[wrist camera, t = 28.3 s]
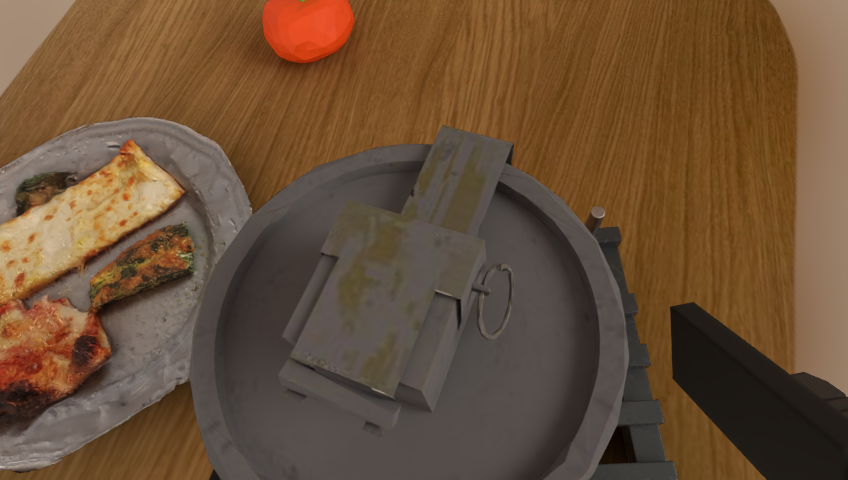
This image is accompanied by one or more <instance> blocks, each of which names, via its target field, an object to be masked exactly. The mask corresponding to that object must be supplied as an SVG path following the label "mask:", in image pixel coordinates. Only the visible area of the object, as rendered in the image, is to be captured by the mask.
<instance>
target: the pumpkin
mask: <svg viewBox="0 0 848 480" xmlns="http://www.w3.org/2000/svg"><path fill="white" fill-rule="evenodd" d="M262 19H263V28H264V36H265V38H266V40H267V41H268V43H269V44H270V45H271V47H272V48H273V49H274V51H275V52H276V54H277V55H278V56H280V57H282V58H284V59H286V60H288V61H292V62H298V63H308V62H314V61H317V60H320V59H322V58H325V57H327V56H329V55H331V54H333V53H335V52H337V51H338V50H339V49H340V48H341V47H342V46H343V45H344V44H345V43H346V41H347V39H348V37H349V35H350V33H351V31H352V28H353V25H354V22H355V19H354V16H353V13H352V10H351V7H350V4H349V1H348V0H269V1H268V2H267V3H266V4H265V6H264V11H263V16H262Z"/></svg>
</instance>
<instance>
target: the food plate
mask: <svg viewBox="0 0 848 480" xmlns="http://www.w3.org/2000/svg"><path fill="white" fill-rule="evenodd" d="M90 124H91V123H90ZM86 125H88V124H86ZM86 125H83V126H80V127H77V128H76V129H73V130H70V131H68V132H66V133H64V134H62V135H60V136H58V137H56V138H53V139H52V140H50V141H48V142H46V143H44V144H42V145H41V146H38V147H36V148H34V149H33V150H32V151H31V152H27V153H26V154H24V155H23V156H21V157H19V158H18V159H16V160H14V161H12V162H11V163H9V164H7V165H6V166H4V167H2V168H3V169H2V168H1V170H0V171H1V172H0V471H1V470H13V472H19V473H22V472H23V473H24V472H29V471H33V470H36V469H41V468H43V467H45V466H50V465H52V464H55V463H57V462H59V461H60V460H64V459H60V458H61V457H63V456H65V455H69V454H70V453H72V452H74V451H76V450H78V449H79V448H81V447H83V446H84V444H86V443H89V442H91V441H93V440H94V439H95V438H97V437H99V436H101V435H103V434H105V433H107V432H108V431H110V430H112V429H113V428H115V427H116V426H118V425H120V424H123V423H124V422H125V421H127V420H129V419H130V418H131V416H133V415H134V414H136V413H138V412H139V411H141V410H143V409H144V408H146V407H148V406H151V405H152V404H153V403H155V402H158V401H160V400H161V398H163V397H164V396H165V395H166V394H168V393H170V392H171V391H173V390H174V388H175V387H176V385H180V384H184V383H186V380H187V379H189V378H190V377H189V368H190V357H191V347H192V337H193V329H194V325H195V322H196V319H197V315H198V312H199V308H200V305H201V302H202V298H203V295H204V292H205V289H206V286H207V284H208V281H209V279H210V277H211V274H212V272H213V270H214V268H215V265H216V264H217V262H218V261H219V259H220V258H221V257H222V255H223V254H224V252H225V251H226V250H227V248H228V247H229V245H230V244H231V243H232V241H233V240H234V238H235V237H236V236H237V234H238V233H239V231H240V230H241V229H242V227H243V226H244V224H245V223H246V222H247V220H248V219H249V217H250V216H252V211H253V210H252V209H251V208H252V206H251V205H250V204H251V203H250V201H249V199H248V194H246V191H245V188H244V186H243V184H242V182H241V180H240V179H239V177H238V176H237V173H236V171H235V170H234V168H233V166H232V164H231V163H230V161H229V159H228V157H227V156H226V155H225V152H223V150H222V147H220V145H219V144H218V143H217V142H215V141H213V140H212V139H209V138H208V137H205V136H204V135H202V134H197V133H196V131H195V130H193V129H190V128H189V127H186V125H180V124H177V123H175V122H174V121H173V122H171V121H168V120H163V119H157V118H154V117H153V118H152V117H149V118H148V117H135V118H131V117H128V118H124V119H121V120H116V121H109V122H100V123H96V124H93V125H92V124H91V125H90V126H88V127H86V128H84V129H82V131H81V130H78V129H80V128H83V127H84V126H86ZM76 130H77V131H76ZM74 131H76V132H74ZM71 132H74V133H71ZM69 133H71V134H69ZM66 134H69V135H66ZM65 135H66V136H65ZM62 136H65V137H63V138H61V137H62ZM58 138H61V139H59V140H57V139H58ZM55 140H57V141H55ZM53 141H55V142H53ZM13 163H17V164H14V165H12V164H13ZM9 165H11V166H10V167H7V166H9ZM188 381H190V380H188ZM188 381H187V382H188ZM57 460H59V461H57ZM54 461H57V462H54ZM52 462H54V463H52Z"/></svg>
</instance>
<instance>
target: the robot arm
mask: <svg viewBox="0 0 848 480" xmlns="http://www.w3.org/2000/svg"><path fill="white" fill-rule="evenodd" d="M670 312H671V339H672V367H673V379H674V380H675V382H676V383H677V384H678V385H679V386H680V387H681V388H682V389H683V390H684V391H685V392H686V393H687V394H688V396H689V397H690V398H691V399H692V400H693V401H694V402H695V403H696V404H697V405H698V406H699V407H700V408H701V410H702V411H703V412H704V413H705V414H706V415H707V416H708V417H709V418H710V419H711V420H712V421H713V422H714V424H715V425H716V426H717V427H718V428H719V429H720V430H721V431H722V432H723V433H724V434H725V435H726V436H727V438H728V439H729V440H730V441H731V442H732V443H733V444H734V445H735V446H736V447H737V448H738V449H739V450H740V452H741V453H742V454H743V455H744V456H745V457H746V458H747V459H748V460H749V461H750V462H751V463H752V464H753V466H754V467H755V468H756V469H757V470H758V471H759V472H760V473H761V474H762V475H763V476H764V477H765V478H766V479H767V480H848V397H846V395H845V394H844V393H843V392H841V391H840V390H839V389H837V388H836V387H834V386H833V385H831V384H830V383H829V382H827V381H825V380H822V379H820V378H817V377H815V376H812V375H810V374H808V373H805V372H802V373H796V374H791V375H790V374H789V373H787V372H786V371H785V370H783V369H782V368H781V367H779V366H778V365H777V364H775V363H774V362H773V361H771V360H770V359H769V358H767V357H766V356H765V355H763V354H762V353H761V352H759V351H758V350H757V349H755V348H754V347H753V346H751V345H750V344H749V343H747V342H746V341H745V340H743V339H742V338H741V337H739V336H738V335H737V334H735V333H734V332H733V331H731V330H730V329H729V328H727V327H726V326H725V325H723V324H722V323H721V322H719V321H718V320H717V319H715V318H714V317H713V316H711V315H710V314H709V313H707V312H706V311H705V310H703V309H702V308H701V307H699V306H698V305H697V304H695V303H694V302H692V303H687V304H682V305H677V306H672V307H670ZM209 480H221V479H220V477H219V476H218V474H217V473H216V471H215V470H213V472H212V474H211V477H210V479H209Z"/></svg>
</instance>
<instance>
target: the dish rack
mask: <svg viewBox="0 0 848 480" xmlns="http://www.w3.org/2000/svg"><path fill="white" fill-rule="evenodd" d="M604 216H605V210H604V209H603V208H602V207H599V206H596V207H593V208H592V209H591V212H590V214H589V216H588V219H587V221H586V224H585V227H586V228H587V229H588V230H589V231H590V233H591V234H592V235H593V236H594V237H595V239H596V240H597V242H598V244H599V246H600V248H601V250H602V252H603V255H604V257H605V259H606V261H607V263H608V265H609V268H610V270H611V272H612V274H613V276H614V278H615V281H616V283H617V285H618V287H619V289H620V295H621V300H622V305H623V311H624V316H625V324H626V333H627V341H628V350H629V362H628V368H627V373H626V379H625V385H624V391H623V397H622V403H621V409H620V415H619V420H618V424H617V426H616V427H621V430H622V435H623V440H624V445H625V450H626V455H627V460H628V463H610V464H598V466H597V468H596V470H595V472H594V474H593V475H592V476H591V478H590V479H589V480H678V477H677V472H676V468H675V464H674V461H667V459H666V455H665V450H664V446H663V442H662V437H661V433H660V429H659V425H660V424H662V423H664V417H663V413H662V409H661V405H660V401H659V400H658V399H656V400H653V398H652V394H651V390H650V385H649V381H648V376H647V372H646V368H647V367H649V366H650V365H651V362H650V358H649V353H648V349H647V345H646V344H640V342H639V337H638V333H637V329H636V324H635V320H634V317H635V315H636V314H637V313H638V307H637V303H636V299H635V295H634V294H633V293H631V294H628V290H627V285H626V281H625V277H624V272H623V268H622V264H621V259H620V255H619V251H618V246H619V244H620V243H621V241H622V239H621V235H620V230H619V227H607V228H599V227H600V224H601V222H602V220H603V218H604Z"/></svg>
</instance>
